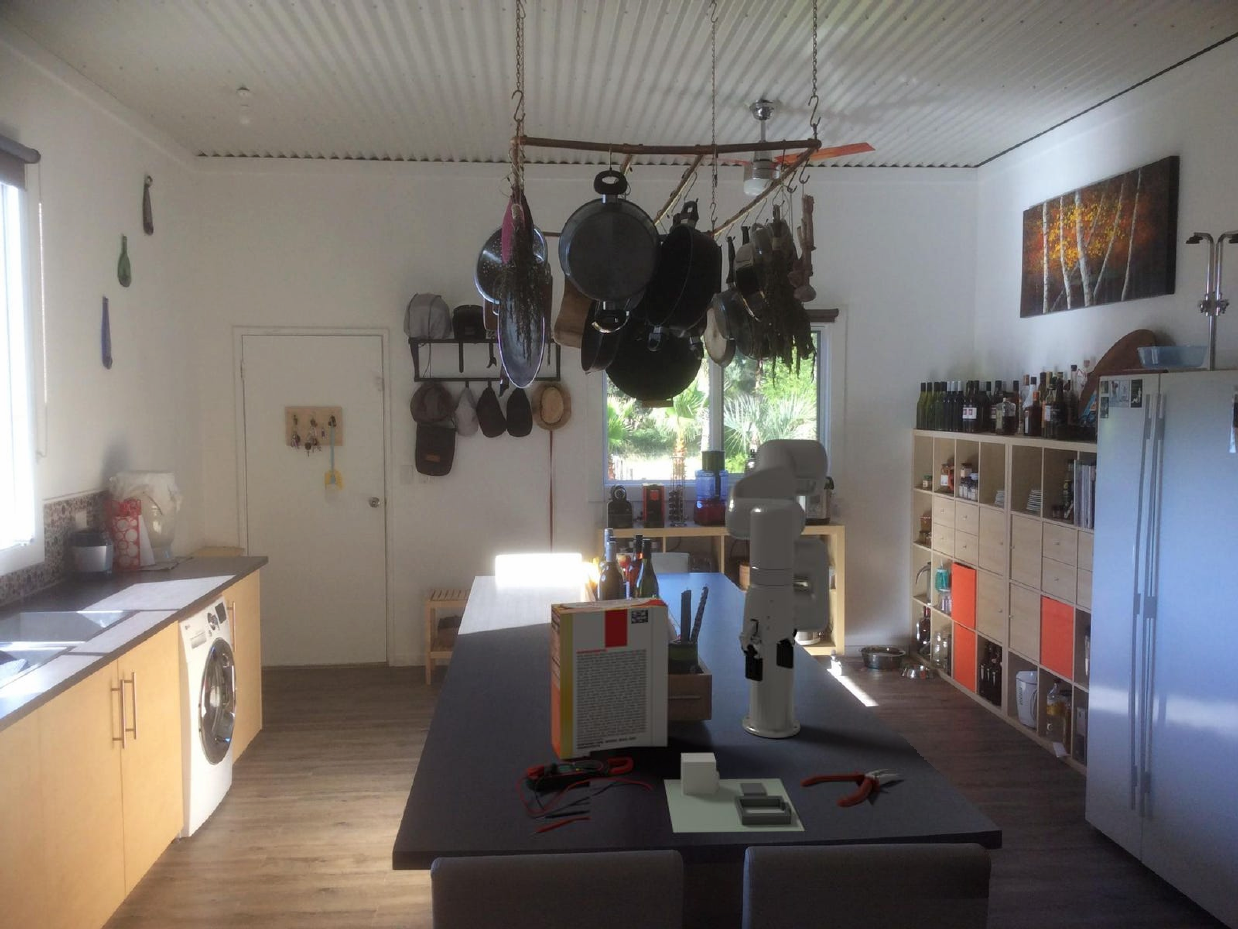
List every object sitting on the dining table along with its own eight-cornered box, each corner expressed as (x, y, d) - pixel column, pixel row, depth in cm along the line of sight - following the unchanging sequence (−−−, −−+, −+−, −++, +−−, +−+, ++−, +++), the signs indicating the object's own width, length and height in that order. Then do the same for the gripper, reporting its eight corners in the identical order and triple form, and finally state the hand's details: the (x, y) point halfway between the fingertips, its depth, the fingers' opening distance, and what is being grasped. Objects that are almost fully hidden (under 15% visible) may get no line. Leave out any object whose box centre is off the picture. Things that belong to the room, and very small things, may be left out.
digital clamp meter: (506, 757, 171) (630, 743, 178) (506, 780, 171) (630, 765, 178) (529, 812, 149) (670, 793, 156) (529, 838, 149) (669, 818, 156)
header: (734, 804, 158) (734, 796, 158) (784, 803, 158) (785, 795, 158) (741, 825, 151) (741, 816, 150) (794, 824, 151) (794, 816, 151)
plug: (680, 784, 166) (681, 753, 166) (717, 784, 166) (717, 753, 166) (682, 794, 162) (683, 762, 162) (720, 793, 162) (720, 762, 162)
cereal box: (654, 732, 194) (655, 597, 191) (667, 746, 186) (668, 605, 184) (551, 744, 187) (551, 604, 185) (560, 759, 179) (560, 613, 177)
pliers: (919, 789, 168) (919, 776, 167) (842, 816, 157) (842, 802, 157) (872, 768, 177) (872, 755, 177) (797, 792, 167) (797, 778, 167)
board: (663, 785, 168) (663, 776, 168) (779, 783, 169) (779, 775, 169) (673, 838, 148) (673, 828, 148) (804, 836, 149) (804, 827, 149)
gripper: (779, 566, 162) (777, 658, 164) (724, 580, 150) (722, 680, 151) (816, 572, 157) (814, 666, 159) (761, 587, 145) (760, 690, 146)
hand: (769, 673), depth 155 cm, fingers open, 9 cm apart
